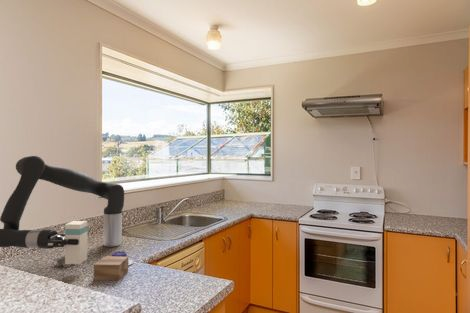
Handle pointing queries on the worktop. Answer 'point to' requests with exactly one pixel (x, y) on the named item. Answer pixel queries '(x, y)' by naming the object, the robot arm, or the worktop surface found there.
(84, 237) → the milk carton
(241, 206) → the worktop surface
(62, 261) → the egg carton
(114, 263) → the brown square block
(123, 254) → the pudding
